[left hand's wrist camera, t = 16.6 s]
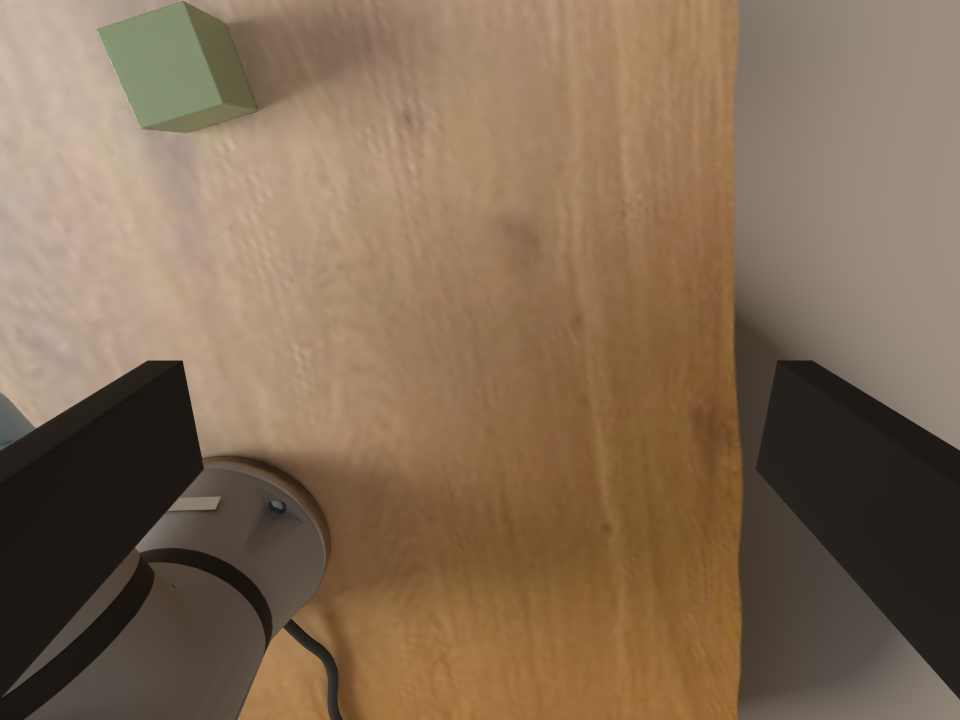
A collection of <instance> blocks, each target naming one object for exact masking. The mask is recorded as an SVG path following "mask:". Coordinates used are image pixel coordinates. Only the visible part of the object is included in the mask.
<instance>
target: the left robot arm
mask: <svg viewBox="0 0 960 720" xmlns="http://www.w3.org/2000/svg"><path fill="white" fill-rule="evenodd" d="M756 470H757V471H758V472H759V473H760V475H761V476H762V477H763V478H764V479H765V480H766V481H767V482H768V484H769V485H770V486H771V487H772V488H773V489H774V490H775V491H776V493H777V494H778V495H779V496H780V497H781V498H782V499H783V500H784V502H785V503H786V504H787V505H788V506H789V507H790V508H791V510H792V511H793V512H794V513H795V514H796V515H797V516H798V517H799V519H800V520H801V521H802V522H803V523H804V524H805V525H806V526H807V528H808V529H809V530H810V531H811V532H812V533H813V534H814V535H815V537H816V538H817V539H818V540H819V541H820V542H821V543H822V545H823V546H824V547H825V548H826V549H827V550H828V551H829V552H830V554H831V555H832V556H833V557H834V558H835V559H836V560H837V561H838V563H839V564H840V565H841V566H842V567H843V568H844V569H845V570H846V572H847V573H848V574H849V575H850V576H851V577H852V578H853V579H854V581H855V582H856V583H857V584H858V585H859V586H860V587H861V588H862V590H863V591H864V592H865V593H866V594H867V595H868V596H869V598H870V599H871V600H872V601H873V602H874V603H875V604H876V605H877V607H878V608H879V609H880V610H881V611H882V612H883V613H884V615H885V616H886V617H887V618H888V619H889V620H890V621H891V622H892V624H893V625H894V626H895V627H896V628H897V629H898V630H899V631H900V633H901V634H902V635H903V636H904V637H905V638H906V639H907V640H908V642H909V643H910V644H911V645H912V646H913V647H914V648H915V650H916V651H917V652H918V653H919V654H920V655H921V656H922V657H923V659H924V660H925V661H926V662H927V663H928V664H929V665H930V666H931V668H932V669H933V670H934V671H935V672H936V673H937V674H938V675H939V677H940V678H941V679H942V680H943V681H944V682H945V683H946V685H947V686H948V687H949V688H950V689H951V690H952V691H953V692H954V694H955V695H956V696H957V697H958V698H959V699H960V450H958V449H956V448H955V447H953V446H951V445H950V444H948V443H946V442H945V441H943V440H941V439H940V438H938V437H937V436H935V435H933V434H932V433H930V432H928V431H927V430H925V429H923V428H922V427H920V426H919V425H917V424H915V423H914V422H912V421H910V420H909V419H907V418H905V417H904V416H902V415H900V414H899V413H897V412H896V411H894V410H892V409H891V408H889V407H887V406H886V405H884V404H883V403H881V402H879V401H878V400H876V399H874V398H873V397H871V396H869V395H868V394H866V393H864V392H863V391H861V390H860V389H858V388H856V387H855V386H853V385H851V384H850V383H848V382H846V381H845V380H843V379H842V378H840V377H838V376H837V375H835V374H833V373H832V372H830V371H828V370H827V369H825V368H823V367H822V366H820V365H819V364H817V363H815V362H814V361H777V366H776V371H775V376H774V381H773V386H772V391H771V396H770V401H769V406H768V411H767V416H766V421H765V426H764V431H763V436H762V441H761V446H760V451H759V456H758V461H757V466H756ZM330 548H331V541H330V533H329V528H328V525H327V522H326V519H325V517H324V515H323V513H322V511H321V509H320V507H319V506H318V504H317V503H316V501H315V500H314V499H313V498H312V496H311V495H310V494H309V493H308V492H307V491H306V490H305V489H304V488H303V487H302V486H301V485H300V484H298V483H297V482H296V481H295V480H293V479H292V478H290V477H289V476H288V475H286V474H284V473H283V472H281V471H279V470H277V469H275V468H273V467H271V466H268V465H266V464H263V463H260V462H257V461H253V460H249V459H244V458H237V457H210V458H203V459H202V456H201V451H200V446H199V441H198V436H197V431H196V426H195V421H194V416H193V411H192V406H191V401H190V396H189V391H188V386H187V381H186V376H185V371H184V366H183V361H146V362H145V363H143V364H141V365H140V366H138V367H136V368H135V369H133V370H132V371H130V372H128V373H127V374H125V375H123V376H122V377H120V378H118V379H117V380H115V381H114V382H112V383H110V384H109V385H107V386H105V387H104V388H102V389H100V390H99V391H97V392H95V393H94V394H92V395H91V396H89V397H87V398H86V399H84V400H82V401H81V402H79V403H77V404H76V405H74V406H73V407H71V408H69V409H68V410H66V411H64V412H63V413H61V414H59V415H58V416H56V417H55V418H53V419H51V420H50V421H48V422H46V423H45V424H43V425H41V426H40V427H38V428H35V427H34V426H33V425H32V424H31V423H30V422H29V421H28V420H27V419H26V417H25V416H24V415H23V414H22V413H21V412H20V411H19V410H18V409H17V408H16V407H15V406H14V404H13V403H12V402H11V401H10V400H9V399H8V398H7V397H6V396H4V395H3V394H2V393H0V720H238V717H239V715H240V712H241V710H242V708H243V705H244V703H245V700H246V698H247V695H248V693H249V691H250V688H251V686H252V683H253V681H254V679H255V676H256V674H257V671H258V669H259V667H260V664H261V662H262V659H263V657H264V654H265V652H266V650H267V647H268V645H269V643H270V641H271V640H272V639H273V638H274V636H275V635H276V634H277V633H278V632H279V631H280V630H281V629H282V628H284V629H285V630H286V631H287V632H288V633H289V634H290V635H292V636H293V637H294V638H295V639H296V640H297V641H298V642H299V643H300V644H301V645H302V646H304V647H305V648H306V649H308V650H309V651H310V652H312V653H313V654H315V655H316V656H317V657H319V658H320V659H321V661H322V662H323V664H324V666H325V668H326V671H327V675H328V711H329V715H330V718H331V720H343V719H342V717H341V715H340V712H339V708H338V672H337V667H336V664H335V661H334V659H333V657H332V655H331V654H330V653H329V652H328V650H327V649H326V648H325V647H323V646H322V645H321V644H320V643H318V642H317V641H315V640H314V639H313V638H311V637H310V636H309V635H308V634H307V633H306V632H305V631H303V630H302V629H301V628H300V627H299V626H298V625H297V624H296V623H295V622H294V621H293V620H292V619H291V618H292V617H293V616H294V614H295V613H296V612H297V611H298V610H299V609H300V608H301V607H302V606H303V605H305V604H306V603H307V602H308V601H309V600H310V598H311V597H312V596H313V595H314V593H315V592H316V590H317V588H318V587H319V584H320V582H321V580H322V577H323V574H324V572H325V569H326V566H327V563H328V560H329V556H330Z"/></svg>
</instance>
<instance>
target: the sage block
mask: <svg viewBox="0 0 960 720" xmlns="http://www.w3.org/2000/svg"><path fill="white" fill-rule="evenodd" d="M97 32H98V34H99V37H100V39H101V41H102V43H103V46H104V48H105V50H106V52H107V55H108V57H109V59H110V61H111V64H112V66H113V68H114V70H115V73H116V75H117V77H118V79H119V82H120V84H121V86H122V88H123V91H124V93H125V95H126V97H127V100H128V102H129V104H130V106H131V109H132V111H133V113H134V115H135V118H136V120H137V122H138V124H139V127H140V129H146V130H158V131H170V132H182V133H187V132H191V131H194V130H197V129H200V128H204V127H207V126H210V125H214V124H217V123H220V122H223V121H227V120H230V119H233V118H237V117H240V116H243V115H246V114H250V113H253V112H256V111H258V109H257V107H256V104H255V101H254V99H253V96H252V93H251V91H250V88H249V85H248V82H247V80H246V77H245V74H244V72H243V69H242V66H241V64H240V61H239V58H238V56H237V53H236V50H235V47H234V45H233V42H232V39H231V37H230V34H229V31H228V29H227V26H226V24H225V23H224V22H222V21H220V20H218V19H217V18H215V17H213V16H211V15H209V14H207V13H205V12H203V11H201V10H200V9H198V8H196V7H194V6H192V5H190V4H188V3H186V2H184V1H182V2H179V3H176V4H173V5H170V6H167V7H164V8H161V9H157V10H154V11H151V12H148V13H145V14H142V15H139V16H136V17H133V18H130V19H127V20H124V21H121V22H118V23H115V24H112V25H109V26H106V27H103V28H100V29H97Z"/></svg>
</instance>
